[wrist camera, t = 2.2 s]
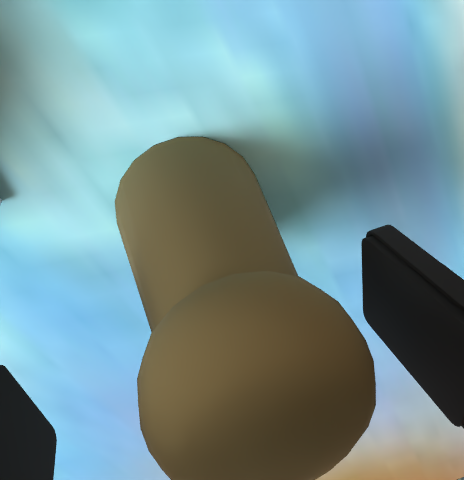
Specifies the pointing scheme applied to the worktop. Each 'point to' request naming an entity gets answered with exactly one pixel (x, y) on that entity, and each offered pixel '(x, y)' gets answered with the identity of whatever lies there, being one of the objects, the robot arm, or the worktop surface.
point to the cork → (234, 327)
